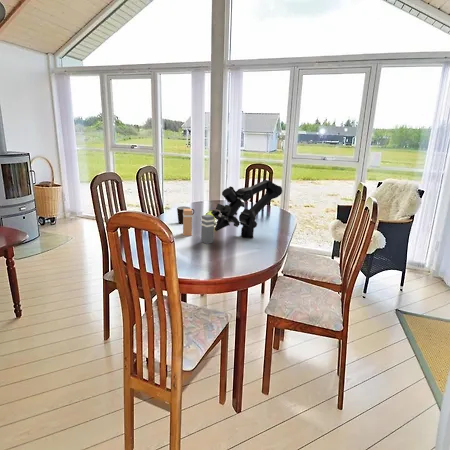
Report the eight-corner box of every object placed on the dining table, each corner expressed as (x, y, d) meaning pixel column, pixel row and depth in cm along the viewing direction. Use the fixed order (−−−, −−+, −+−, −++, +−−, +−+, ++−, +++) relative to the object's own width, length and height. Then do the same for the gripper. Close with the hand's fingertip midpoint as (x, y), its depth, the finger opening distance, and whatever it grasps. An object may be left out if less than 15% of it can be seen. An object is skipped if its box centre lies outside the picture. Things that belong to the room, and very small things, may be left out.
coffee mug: (177, 225, 209) (177, 209, 206) (175, 221, 217) (176, 206, 214) (196, 225, 212) (196, 209, 209) (193, 221, 220) (194, 206, 217)
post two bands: (207, 240, 180) (208, 214, 176) (213, 242, 177) (214, 216, 173) (200, 241, 177) (201, 215, 173) (205, 244, 174) (206, 217, 170)
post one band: (191, 232, 191) (191, 208, 187) (192, 235, 186) (192, 210, 182) (182, 233, 190) (183, 208, 186) (183, 235, 185) (183, 210, 181)
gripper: (214, 195, 184) (197, 217, 181) (237, 201, 171) (218, 225, 167) (224, 208, 191) (208, 229, 188) (247, 215, 178) (229, 238, 174)
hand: (215, 230), depth 179 cm, fingers closed
